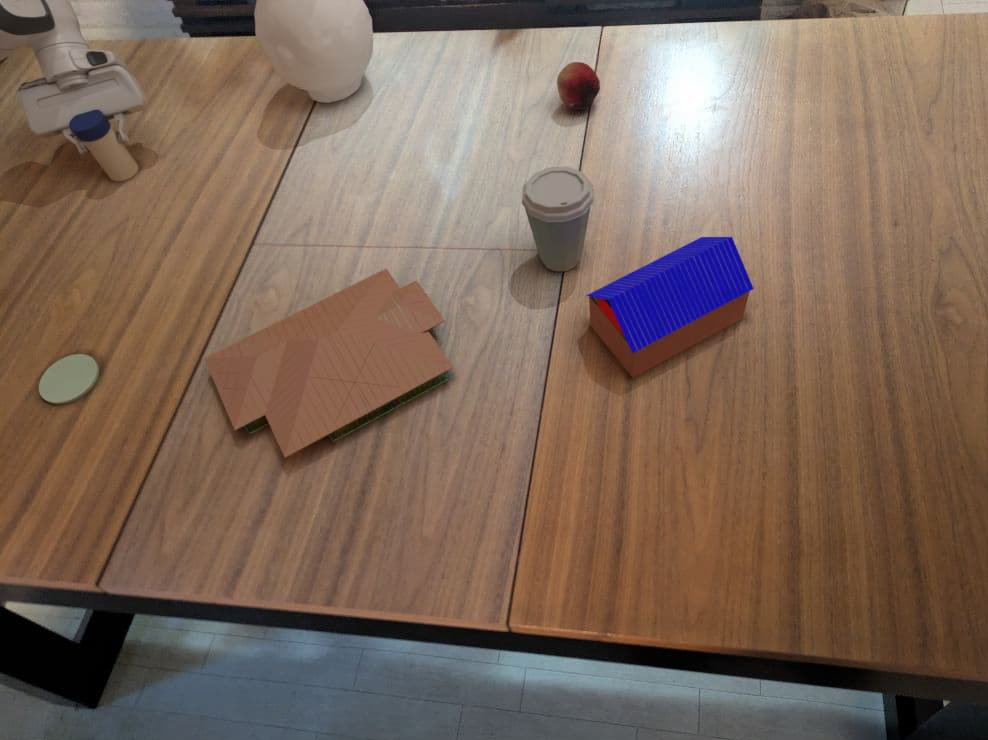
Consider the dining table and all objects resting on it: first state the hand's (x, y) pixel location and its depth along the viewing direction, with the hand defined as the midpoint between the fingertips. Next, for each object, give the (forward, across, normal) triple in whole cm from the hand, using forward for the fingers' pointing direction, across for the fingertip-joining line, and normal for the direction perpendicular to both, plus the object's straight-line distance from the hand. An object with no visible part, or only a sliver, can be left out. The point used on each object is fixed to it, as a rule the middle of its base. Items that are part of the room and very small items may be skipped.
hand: (105, 147), depth 130 cm
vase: (-1, +43, +9) cm, 44 cm away
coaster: (+38, -10, -29) cm, 48 cm away
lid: (-4, 0, -3) cm, 5 cm away
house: (+56, +79, -48) cm, 108 cm away
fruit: (+19, +85, -10) cm, 88 cm away
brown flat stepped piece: (+48, +31, -40) cm, 70 cm away
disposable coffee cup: (+43, +69, -34) cm, 88 cm away
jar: (+4, 0, +5) cm, 6 cm away
